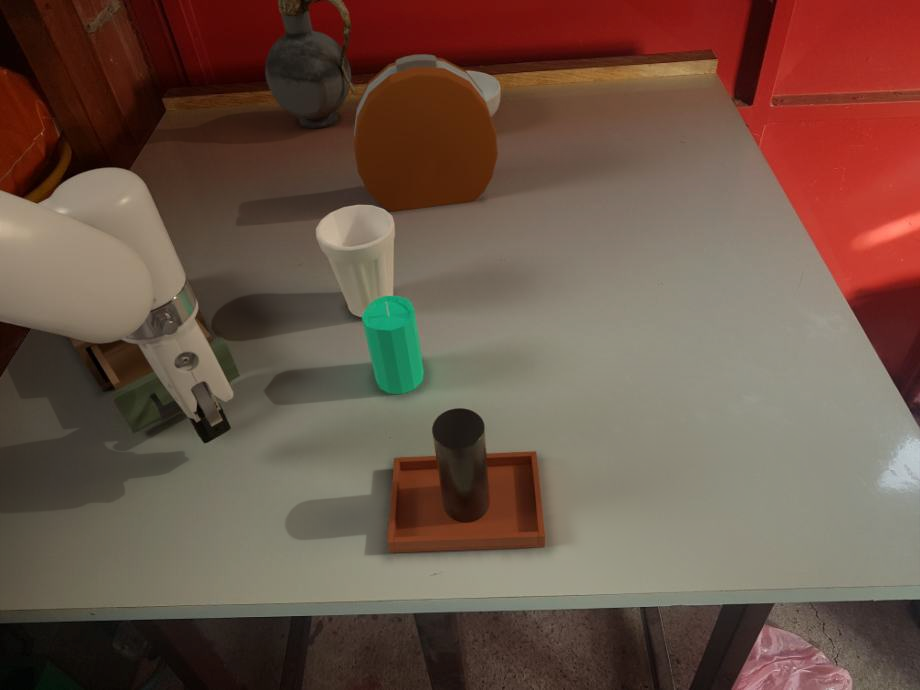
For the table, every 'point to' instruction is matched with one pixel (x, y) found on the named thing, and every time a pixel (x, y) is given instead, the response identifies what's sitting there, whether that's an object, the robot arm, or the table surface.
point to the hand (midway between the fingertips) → (215, 432)
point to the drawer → (147, 380)
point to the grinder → (462, 464)
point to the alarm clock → (424, 135)
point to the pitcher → (309, 66)
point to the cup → (360, 252)
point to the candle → (394, 344)
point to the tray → (503, 525)
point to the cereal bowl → (488, 89)
